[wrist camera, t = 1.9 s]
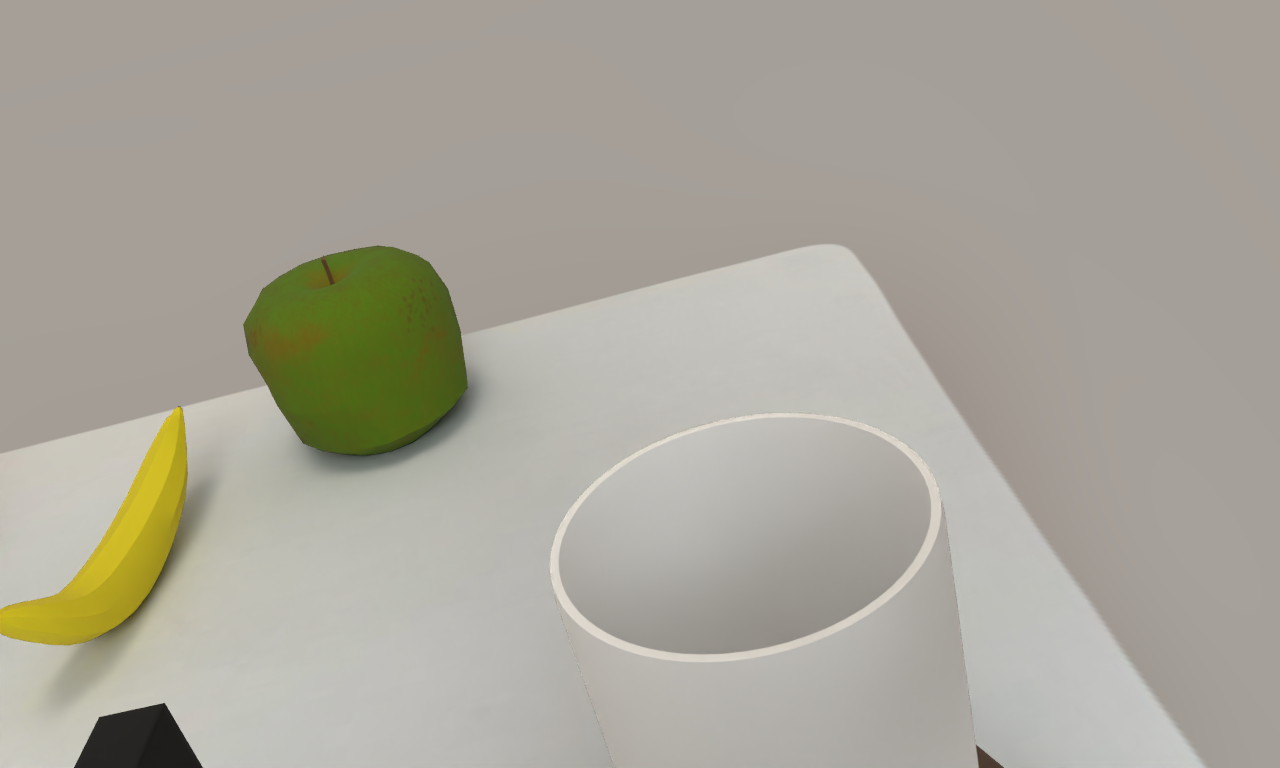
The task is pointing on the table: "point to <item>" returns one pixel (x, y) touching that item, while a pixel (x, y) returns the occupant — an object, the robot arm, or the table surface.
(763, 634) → the cup
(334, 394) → the apple
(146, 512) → the banana
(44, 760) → the table surface
